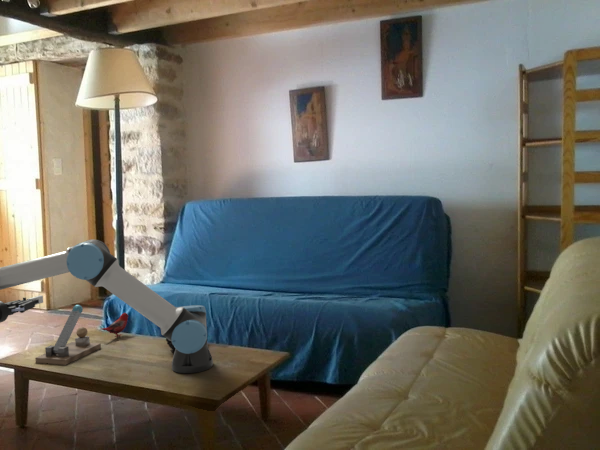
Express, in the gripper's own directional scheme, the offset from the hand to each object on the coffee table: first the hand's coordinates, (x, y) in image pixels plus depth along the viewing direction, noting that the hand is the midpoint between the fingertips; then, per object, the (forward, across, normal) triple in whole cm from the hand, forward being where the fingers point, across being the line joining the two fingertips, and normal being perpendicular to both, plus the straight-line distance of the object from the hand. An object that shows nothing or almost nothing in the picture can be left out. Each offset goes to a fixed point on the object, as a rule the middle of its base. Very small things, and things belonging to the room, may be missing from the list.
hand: (41, 298), depth 208 cm
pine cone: (+31, +43, -27) cm, 60 cm away
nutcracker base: (+13, 0, -26) cm, 30 cm away
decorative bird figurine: (+40, +3, -27) cm, 48 cm away
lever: (+6, 0, -23) cm, 24 cm away
